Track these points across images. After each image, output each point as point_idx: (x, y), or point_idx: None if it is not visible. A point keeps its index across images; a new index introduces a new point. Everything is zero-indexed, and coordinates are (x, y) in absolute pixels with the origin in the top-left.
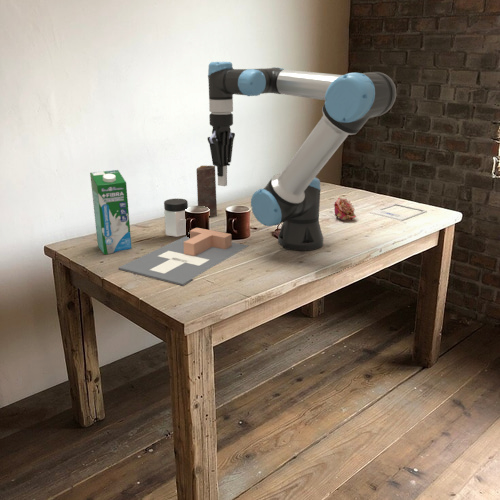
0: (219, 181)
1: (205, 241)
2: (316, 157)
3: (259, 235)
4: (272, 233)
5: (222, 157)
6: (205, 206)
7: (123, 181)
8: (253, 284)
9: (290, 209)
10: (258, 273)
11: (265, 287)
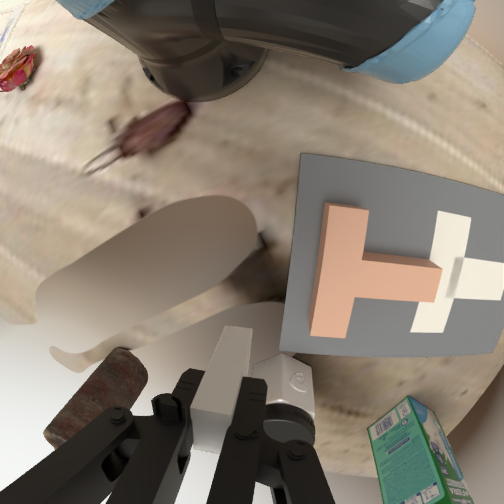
0: (246, 373)
1: (391, 260)
2: None
3: (189, 173)
4: (158, 148)
5: (240, 493)
6: (134, 382)
7: None
8: (484, 77)
9: None
10: (443, 76)
11: (481, 54)
